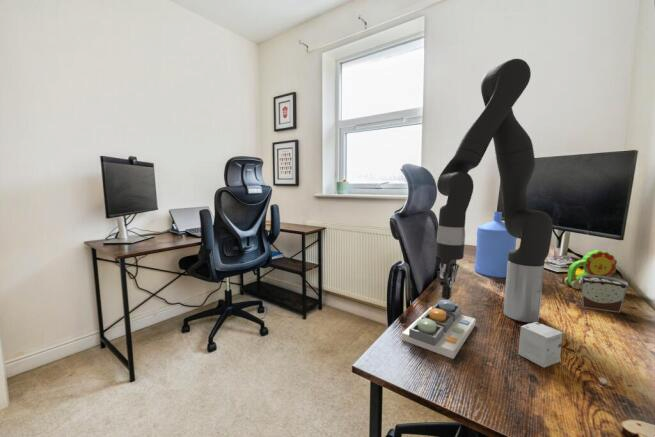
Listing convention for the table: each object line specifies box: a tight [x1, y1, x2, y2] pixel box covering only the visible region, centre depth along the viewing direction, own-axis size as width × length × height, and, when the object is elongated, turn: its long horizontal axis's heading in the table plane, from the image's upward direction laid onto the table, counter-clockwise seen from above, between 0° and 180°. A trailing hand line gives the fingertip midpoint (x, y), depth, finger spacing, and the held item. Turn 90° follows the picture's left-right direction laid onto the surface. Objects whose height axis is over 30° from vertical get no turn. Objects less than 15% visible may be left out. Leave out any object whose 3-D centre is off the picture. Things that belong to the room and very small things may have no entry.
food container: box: [579, 275, 630, 313], centre depth 97 cm, size 12×6×10 cm, turn 65°
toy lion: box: [564, 249, 618, 290], centre depth 113 cm, size 16×6×15 cm, turn 84°
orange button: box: [429, 309, 446, 323], centre depth 81 cm, size 4×4×2 cm
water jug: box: [474, 211, 518, 279], centre depth 131 cm, size 16×16×28 cm
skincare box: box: [517, 321, 564, 369], centre depth 69 cm, size 6×6×7 cm
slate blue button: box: [438, 299, 456, 313], centre depth 87 cm, size 4×4×2 cm
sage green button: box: [418, 319, 436, 335], centre depth 75 cm, size 4×4×2 cm
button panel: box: [401, 301, 476, 360], centre depth 80 cm, size 13×23×4 cm, turn 140°
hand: (446, 298), depth 86 cm, fingers closed
